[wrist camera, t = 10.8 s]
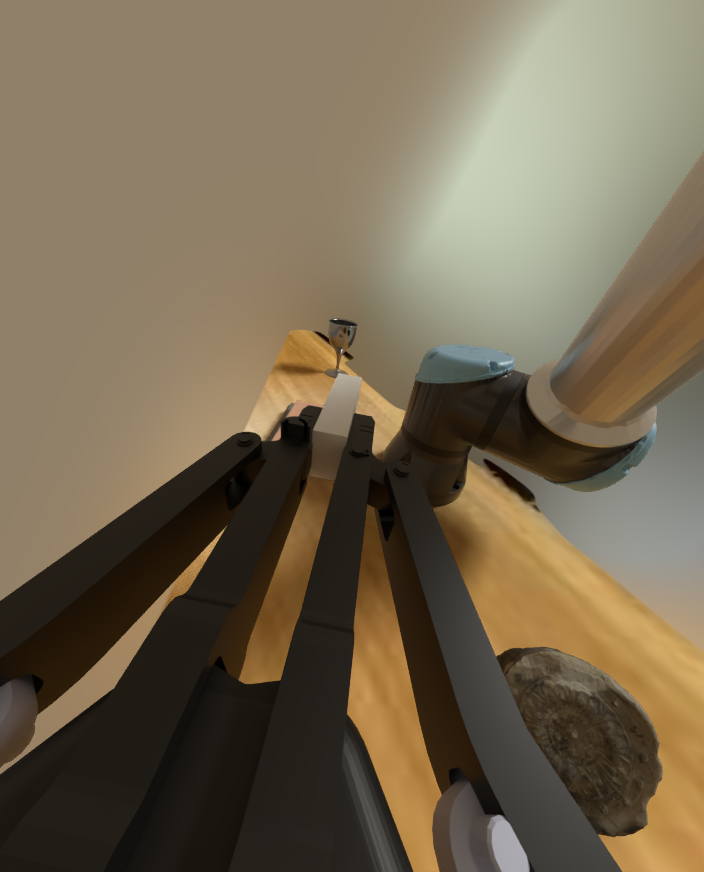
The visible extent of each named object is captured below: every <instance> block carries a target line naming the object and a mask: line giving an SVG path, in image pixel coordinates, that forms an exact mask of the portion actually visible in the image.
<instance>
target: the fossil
mask: <svg viewBox="0 0 704 872" xmlns="http://www.w3.org/2000/svg"><path fill="white" fill-rule="evenodd" d="M496 658H497V660H498V662H499V665H500V667H501V669H502V672H503V674H504V676H505V679H506V681H507V683H508V686H509V688H510V690H511V693H512V695H513V697H514V700H515V702H516V705H517V707H518V709H519V712H520V714H521V716H522V719H523V721H524V723H525V726H526V728H527V730H528V731H529V733H530V734H531V736H532V737H533V739H534V740H535V742H536V743H537V745H538V746H539V748H540V749H541V751H542V752H543V754H544V755H545V757H546V758H547V760H548V761H549V763H550V764H551V766H552V767H553V769H554V770H555V772H556V773H557V775H558V776H559V778H560V779H561V781H562V782H563V784H564V785H565V787H566V788H567V790H568V791H569V793H570V794H571V796H572V797H573V799H574V800H575V802H576V803H577V805H578V806H579V808H580V809H581V811H582V812H583V814H584V815H585V817H586V818H587V820H588V821H589V823H590V824H591V826H592V827H593V829H594V830H595V832H596V833H597V834H600V835H606V836H611V837H615V836H626V835H629V834H634V833H636V832H637V831H639V830H641V829H643V828H644V827H645V826H646V825H647V811H646V805H647V803H648V801H649V799H650V798H651V797H652V796H653V795H655V792H656V789H657V786H658V783H659V782H660V781H661V780H662V764H661V761H660V759H659V758H658V754H657V753H658V748H659V740H658V737H657V734H656V731H655V729H654V726H653V724H652V722H651V720H650V719H649V717H648V715H647V714H646V712H645V711H644V709H643V708H642V706H641V705H640V704H639V703H638V702H637V701H636V700H635V699H634V698H633V696H632V695H631V694H630V693H629V692H627V691H626V690H625V689H624V688H623V687H622V686H620V685H619V684H618V683H617V682H616V681H615V680H614V679H612V678H611V677H610V676H609V675H607V674H606V673H604V672H602V671H601V670H599V669H598V668H596V667H594V666H592V665H591V664H589V663H588V662H586V661H584V660H582V659H579V658H576V657H574V656H571V655H569V654H566V653H563V652H561V651H559V650H557V649H553V648H548V647H534V648H524V649H522V648H512V649H509V650H507V651H504V652H503V653H502V654H501V655H498V656H497V657H496Z"/></svg>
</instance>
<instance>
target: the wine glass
mask: <svg viewBox="0 0 704 872" xmlns="http://www.w3.org/2000/svg"><path fill="white" fill-rule="evenodd" d="M356 331H357V323H355V322H353V321H350V320H346V319H339V318H338V319H337V318H333V319H330V320H329V326H328V334H329V341H330V343H331V345H332V346H333V348H334V349H335V351H336V354H337V366H336V369H328V370H326V371H325V373H326V374H327V375H328V376H330V377H334V378H337V376H338V373H341V374H346V375H348V373H347V372H345V371H343V370H340V369H339V363H340V359H341V356H342V354H343V353H344V352H345V351H346V350H347V349H348V348H349V347H350V346H351V345H352V343H353V341H354V339H355V335H356Z"/></svg>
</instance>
